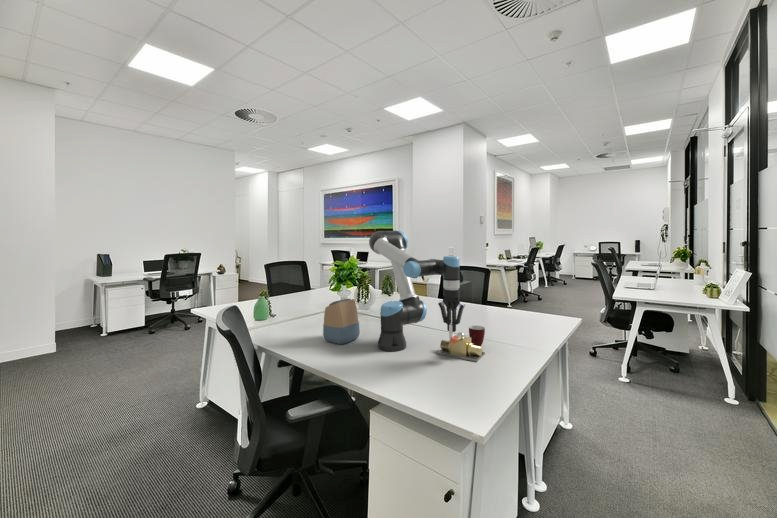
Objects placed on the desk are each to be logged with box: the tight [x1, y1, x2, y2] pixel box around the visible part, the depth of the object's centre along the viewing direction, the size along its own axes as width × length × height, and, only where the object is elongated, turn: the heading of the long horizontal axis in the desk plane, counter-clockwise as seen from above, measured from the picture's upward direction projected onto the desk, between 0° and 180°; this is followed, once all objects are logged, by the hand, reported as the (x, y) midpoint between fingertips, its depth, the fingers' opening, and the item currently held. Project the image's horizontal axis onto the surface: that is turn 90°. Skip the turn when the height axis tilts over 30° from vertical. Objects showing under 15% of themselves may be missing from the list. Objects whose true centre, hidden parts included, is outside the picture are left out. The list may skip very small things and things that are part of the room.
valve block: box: [436, 334, 486, 363], centre depth 167 cm, size 20×12×8 cm, turn 57°
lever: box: [449, 332, 465, 344], centre depth 163 cm, size 12×3×3 cm, turn 147°
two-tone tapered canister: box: [322, 298, 361, 345], centre depth 191 cm, size 17×17×23 cm
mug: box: [468, 325, 486, 347], centre depth 177 cm, size 10×8×10 cm
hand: (451, 338), depth 162 cm, fingers closed
